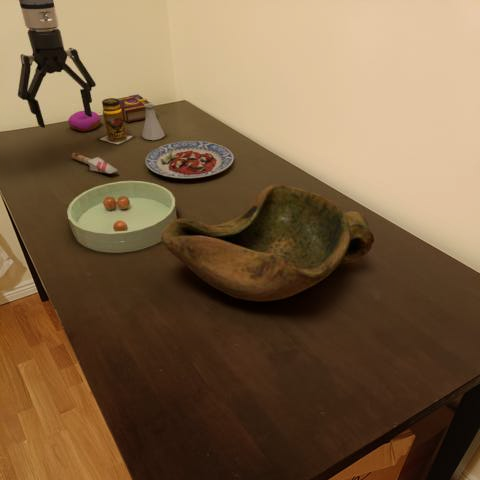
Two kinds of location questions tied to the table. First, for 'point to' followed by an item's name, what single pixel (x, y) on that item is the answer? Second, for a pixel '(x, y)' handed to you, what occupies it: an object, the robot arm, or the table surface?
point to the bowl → (271, 244)
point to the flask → (152, 124)
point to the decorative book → (133, 108)
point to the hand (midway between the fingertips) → (66, 120)
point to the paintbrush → (95, 164)
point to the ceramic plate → (189, 159)
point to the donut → (84, 121)
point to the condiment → (114, 121)
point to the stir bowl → (122, 216)
